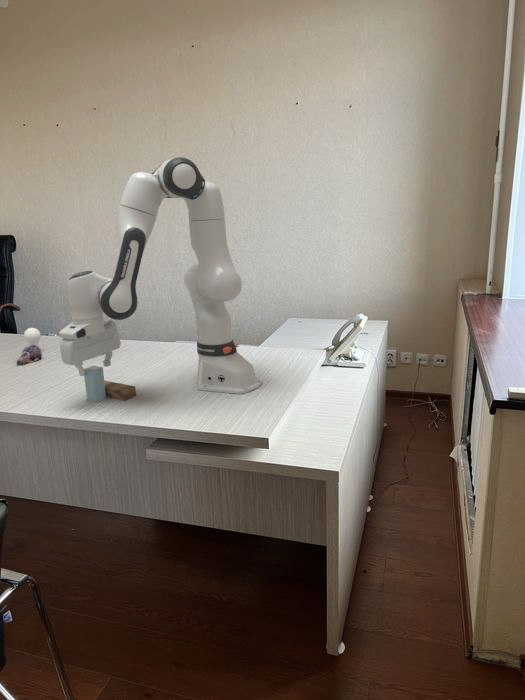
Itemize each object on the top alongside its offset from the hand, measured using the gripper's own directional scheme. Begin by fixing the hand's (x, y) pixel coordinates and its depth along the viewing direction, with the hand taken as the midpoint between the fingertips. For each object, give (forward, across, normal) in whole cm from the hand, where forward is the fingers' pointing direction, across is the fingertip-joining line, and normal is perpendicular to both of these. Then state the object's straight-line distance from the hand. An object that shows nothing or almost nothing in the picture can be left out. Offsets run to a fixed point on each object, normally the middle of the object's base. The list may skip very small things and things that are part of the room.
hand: (95, 370), depth 162 cm
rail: (+9, -4, 0) cm, 10 cm away
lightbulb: (+9, -25, -66) cm, 71 cm away
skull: (+9, -16, -57) cm, 60 cm away
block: (+9, +1, 0) cm, 9 cm away
